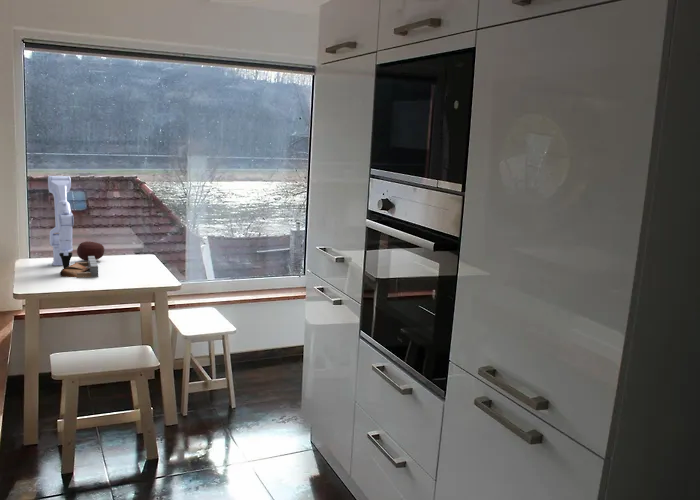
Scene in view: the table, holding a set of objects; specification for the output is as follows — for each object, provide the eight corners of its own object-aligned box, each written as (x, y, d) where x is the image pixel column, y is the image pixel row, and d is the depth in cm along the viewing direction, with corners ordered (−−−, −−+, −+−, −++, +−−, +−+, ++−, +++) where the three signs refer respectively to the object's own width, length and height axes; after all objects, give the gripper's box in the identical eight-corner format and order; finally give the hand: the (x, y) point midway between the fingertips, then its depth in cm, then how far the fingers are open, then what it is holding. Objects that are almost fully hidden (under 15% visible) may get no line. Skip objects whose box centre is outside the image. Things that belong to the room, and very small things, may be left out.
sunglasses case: (78, 277, 290) (70, 264, 288) (65, 284, 290) (57, 271, 289) (92, 269, 307) (84, 257, 306) (79, 276, 307) (72, 264, 306)
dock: (75, 266, 312) (74, 256, 312) (94, 265, 316) (94, 255, 315) (77, 277, 288) (76, 267, 288) (98, 276, 292) (98, 266, 291)
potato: (104, 262, 324) (104, 243, 323) (76, 263, 319) (76, 243, 318) (104, 258, 334) (104, 239, 333) (77, 259, 330) (76, 239, 328)
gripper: (56, 237, 301) (56, 265, 303) (56, 242, 288) (56, 271, 290) (72, 237, 304) (72, 265, 306) (73, 242, 291) (73, 271, 293)
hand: (66, 268), depth 298 cm, fingers closed, pressing on sunglasses case
